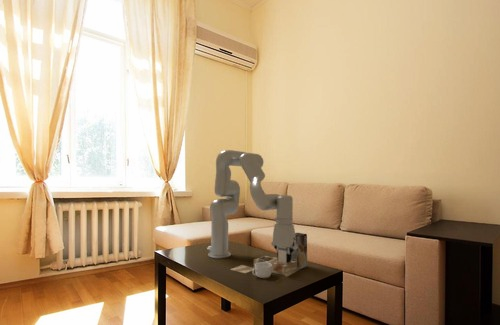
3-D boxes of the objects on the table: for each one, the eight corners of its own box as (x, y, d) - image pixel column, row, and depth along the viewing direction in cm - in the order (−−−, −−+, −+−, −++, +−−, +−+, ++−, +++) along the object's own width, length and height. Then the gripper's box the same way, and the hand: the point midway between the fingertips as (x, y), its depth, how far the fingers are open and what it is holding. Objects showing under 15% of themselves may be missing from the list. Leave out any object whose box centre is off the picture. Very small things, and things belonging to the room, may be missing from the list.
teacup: (264, 273, 134) (264, 261, 134) (275, 277, 128) (275, 265, 128) (247, 277, 128) (247, 264, 128) (258, 282, 122) (258, 269, 122)
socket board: (253, 269, 139) (253, 258, 139) (264, 264, 147) (264, 254, 148) (286, 277, 128) (286, 265, 129) (296, 271, 137) (297, 260, 137)
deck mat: (230, 270, 137) (230, 269, 137) (241, 266, 144) (241, 265, 144) (245, 274, 131) (245, 273, 131) (256, 269, 139) (256, 268, 139)
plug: (278, 267, 135) (278, 245, 135) (282, 265, 138) (282, 243, 138) (285, 268, 132) (285, 246, 133) (290, 266, 136) (290, 245, 136)
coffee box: (296, 263, 149) (296, 232, 150) (307, 266, 145) (307, 233, 145) (286, 267, 142) (286, 234, 143) (297, 270, 138) (297, 236, 139)
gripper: (265, 220, 138) (264, 259, 137) (296, 224, 128) (296, 266, 127) (273, 219, 144) (273, 256, 143) (304, 222, 134) (304, 262, 133)
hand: (284, 260), depth 135 cm, fingers closed on plug, 3 cm apart
